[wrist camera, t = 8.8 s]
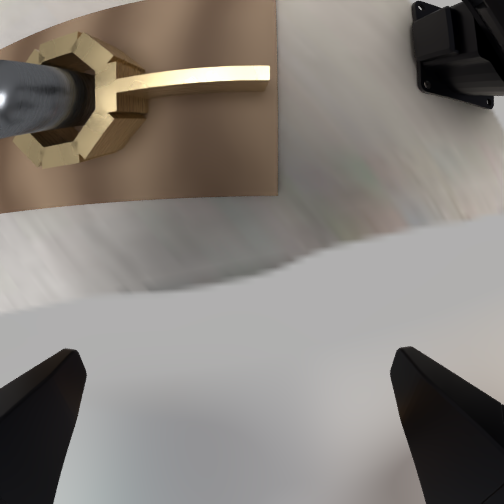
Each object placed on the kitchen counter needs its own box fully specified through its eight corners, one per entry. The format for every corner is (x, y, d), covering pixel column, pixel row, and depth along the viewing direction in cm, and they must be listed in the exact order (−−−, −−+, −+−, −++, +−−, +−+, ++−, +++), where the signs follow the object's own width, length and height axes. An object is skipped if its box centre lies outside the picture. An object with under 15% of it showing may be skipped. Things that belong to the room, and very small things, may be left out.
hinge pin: (119, 73, 14) (20, 47, 6) (121, 120, 15) (20, 131, 7) (77, 83, 14) (-32, 75, 6) (79, 128, 15) (-30, 148, 7)
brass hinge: (263, 33, 14) (268, 4, 10) (264, 143, 16) (270, 149, 12) (-10, 90, 14) (-54, 92, 9) (-5, 174, 16) (-48, 189, 12)
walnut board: (273, -4, 14) (275, -10, 13) (276, 192, 18) (277, 195, 17) (-5, 57, 13) (-14, 56, 12) (3, 210, 18) (-5, 214, 17)
